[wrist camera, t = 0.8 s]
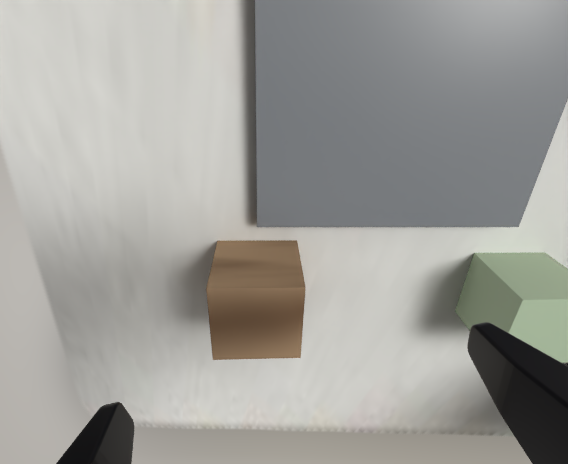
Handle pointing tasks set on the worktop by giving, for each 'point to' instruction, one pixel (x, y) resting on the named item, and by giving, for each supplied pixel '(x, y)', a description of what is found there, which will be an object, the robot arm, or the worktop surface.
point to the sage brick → (519, 298)
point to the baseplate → (405, 110)
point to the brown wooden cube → (256, 300)
